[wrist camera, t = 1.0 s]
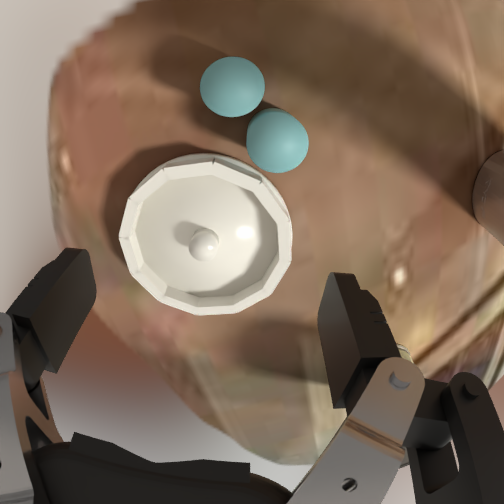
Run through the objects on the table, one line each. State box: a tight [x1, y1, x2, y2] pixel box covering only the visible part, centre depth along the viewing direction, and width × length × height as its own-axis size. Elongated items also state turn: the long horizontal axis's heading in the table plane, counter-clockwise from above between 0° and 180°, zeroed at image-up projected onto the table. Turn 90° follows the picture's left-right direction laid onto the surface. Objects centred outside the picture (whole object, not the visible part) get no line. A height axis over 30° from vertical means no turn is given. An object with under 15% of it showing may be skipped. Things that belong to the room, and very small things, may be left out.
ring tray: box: [119, 153, 292, 315], centre depth 27 cm, size 15×15×2 cm
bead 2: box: [246, 108, 308, 173], centre depth 21 cm, size 4×4×4 cm
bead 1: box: [200, 57, 265, 117], centre depth 19 cm, size 4×4×4 cm
